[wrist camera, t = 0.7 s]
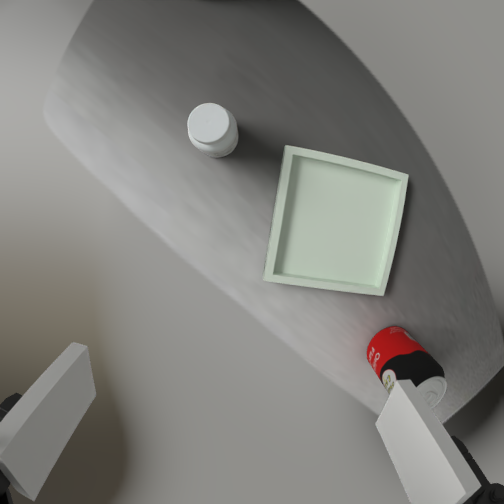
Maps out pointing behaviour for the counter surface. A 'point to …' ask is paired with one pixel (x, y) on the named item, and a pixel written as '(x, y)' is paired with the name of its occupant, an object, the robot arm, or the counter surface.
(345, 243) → the tray
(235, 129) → the pill bottle
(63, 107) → the counter surface
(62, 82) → the counter surface
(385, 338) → the beverage can
